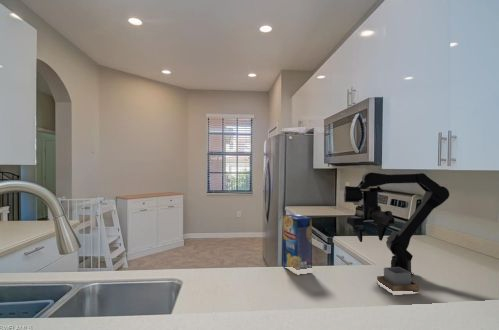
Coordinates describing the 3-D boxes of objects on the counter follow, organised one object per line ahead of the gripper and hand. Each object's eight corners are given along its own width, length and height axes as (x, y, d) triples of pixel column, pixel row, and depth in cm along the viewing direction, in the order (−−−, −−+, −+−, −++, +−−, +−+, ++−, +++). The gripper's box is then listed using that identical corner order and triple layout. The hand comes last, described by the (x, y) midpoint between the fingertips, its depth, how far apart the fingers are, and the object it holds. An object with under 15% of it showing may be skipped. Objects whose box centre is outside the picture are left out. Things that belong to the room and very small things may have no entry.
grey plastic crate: (399, 283, 103) (399, 266, 103) (411, 290, 97) (411, 272, 98) (383, 284, 102) (383, 267, 102) (395, 291, 96) (394, 273, 97)
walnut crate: (400, 282, 105) (400, 274, 105) (418, 293, 96) (418, 284, 96) (377, 284, 104) (377, 276, 104) (393, 295, 95) (393, 286, 95)
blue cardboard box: (297, 264, 125) (296, 214, 126) (312, 273, 115) (311, 218, 116) (283, 267, 123) (283, 215, 123) (297, 275, 113) (297, 219, 113)
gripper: (362, 206, 108) (362, 248, 108) (404, 204, 112) (405, 244, 112) (345, 202, 119) (346, 240, 119) (384, 201, 123) (385, 238, 123)
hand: (370, 241), depth 118 cm, fingers open, 9 cm apart
